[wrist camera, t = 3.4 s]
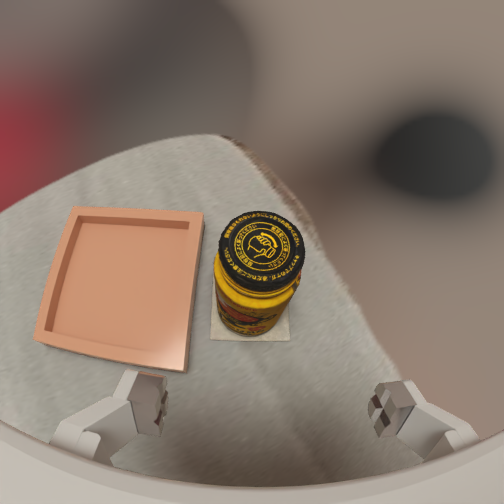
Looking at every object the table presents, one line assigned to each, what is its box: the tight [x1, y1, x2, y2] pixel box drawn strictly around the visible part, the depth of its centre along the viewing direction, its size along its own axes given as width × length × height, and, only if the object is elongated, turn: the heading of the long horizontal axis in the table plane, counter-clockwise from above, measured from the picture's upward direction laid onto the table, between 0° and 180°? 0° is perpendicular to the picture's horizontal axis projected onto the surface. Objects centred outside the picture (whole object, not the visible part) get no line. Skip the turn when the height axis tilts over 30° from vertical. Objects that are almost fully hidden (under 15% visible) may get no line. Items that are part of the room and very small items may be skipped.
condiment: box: [210, 211, 305, 341], centre depth 23 cm, size 7×8×12 cm
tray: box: [33, 206, 205, 373], centre depth 26 cm, size 15×15×2 cm
